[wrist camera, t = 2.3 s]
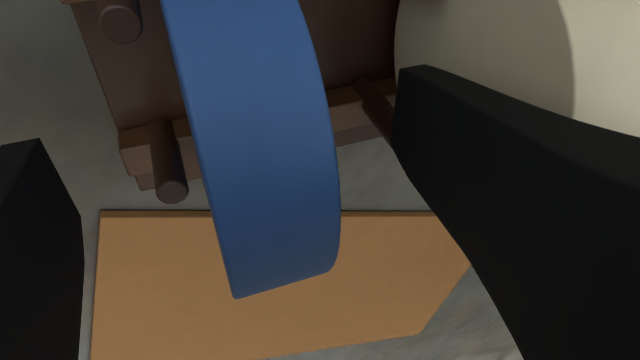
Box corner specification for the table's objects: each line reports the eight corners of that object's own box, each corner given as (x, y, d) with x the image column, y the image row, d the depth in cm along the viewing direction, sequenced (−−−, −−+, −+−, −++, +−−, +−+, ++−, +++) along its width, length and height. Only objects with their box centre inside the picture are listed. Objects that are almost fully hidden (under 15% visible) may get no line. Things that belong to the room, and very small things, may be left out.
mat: (503, 211, 25) (508, 216, 25) (416, 329, 31) (419, 334, 31) (100, 210, 16) (100, 217, 15) (88, 378, 22) (88, 386, 22)
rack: (699, -181, 14) (838, -168, 11) (585, 78, 20) (658, 125, 17) (19, -149, 9) (-12, -115, 7) (139, 177, 15) (147, 262, 13)
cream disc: (478, -117, 12) (746, -33, 7) (433, 110, 17) (574, 254, 12) (410, -111, 11) (645, -16, 6) (384, 121, 16) (508, 277, 11)
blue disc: (230, -96, 10) (351, 32, 5) (259, 148, 15) (338, 335, 10) (137, -89, 10) (177, 61, 5) (198, 162, 14) (249, 364, 10)
